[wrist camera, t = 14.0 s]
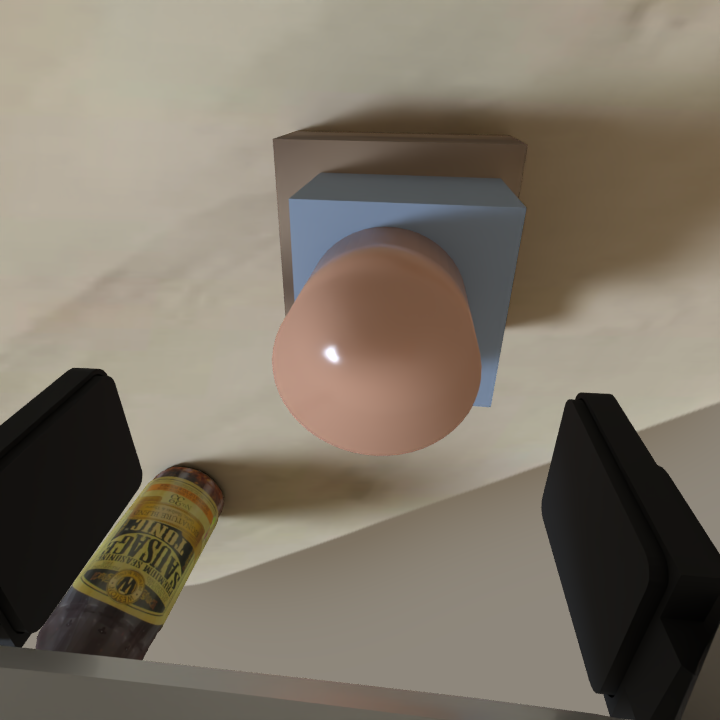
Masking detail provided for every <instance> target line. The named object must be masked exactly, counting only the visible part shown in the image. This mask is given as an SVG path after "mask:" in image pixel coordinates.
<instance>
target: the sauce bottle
mask: <svg viewBox="0 0 720 720" xmlns="http://www.w3.org/2000/svg"><path fill="white" fill-rule="evenodd" d="M223 501H224V497H223V494H222V492H221V490H220V488H219V487H218V485H217V484H216V483H215V482H214V481H213V480H212V479H211V478H210V477H209V476H208V475H206V474H204V473H203V472H202V471H198V470H195V469H191V468H187V467H180V466H173V467H170V468H168V469H166V470H165V471H162V472H161V473H160V474H158V475H157V476H156V477H155V478H154V479H153V480H152V481H151V482H149V483H148V485H147V486H146V487H145V488H144V490H143V491H142V492H141V494H140V495H139V496H138V498H137V499H136V500H135V502H134V503H133V504H132V506H131V507H130V508H129V510H128V511H127V512H126V513H125V515H124V516H123V517H122V518H121V520H120V521H119V522H118V524H117V525H116V526H115V528H114V529H113V530H112V531H111V533H110V534H109V535H108V537H107V538H106V539H105V541H104V542H103V543H102V545H101V546H100V547H99V549H98V550H97V551H96V553H95V554H94V555H93V557H92V558H91V559H90V561H89V562H88V563H87V565H86V566H85V567H84V569H83V570H82V572H81V573H80V574H79V576H78V577H77V578H76V580H75V581H74V583H73V584H72V586H71V588H70V589H69V590H68V592H67V593H66V595H65V596H64V597H63V599H62V600H61V602H60V603H59V604H58V606H57V607H56V609H55V610H54V611H53V613H52V614H51V616H50V617H49V619H48V620H47V621H46V623H45V624H44V625H43V627H42V628H41V630H40V632H39V634H38V636H37V644H36V649H40V650H49V651H59V652H68V653H78V654H88V655H97V656H107V657H116V658H125V659H134V660H143V658H144V656H145V654H146V652H147V651H148V648H149V646H150V645H151V643H152V642H153V640H154V639H155V637H156V635H157V633H158V632H159V631H160V630H161V628H162V627H163V624H164V623H165V621H166V619H167V617H168V615H169V613H170V611H171V610H172V608H173V606H174V604H175V602H176V600H177V598H178V596H179V594H180V592H181V591H182V589H183V587H184V585H185V583H186V581H187V579H188V577H189V575H190V573H191V571H192V569H193V568H194V566H195V564H196V562H197V560H198V558H199V556H200V554H201V553H202V551H203V549H204V547H205V545H206V543H207V541H208V539H209V537H210V536H211V534H212V532H213V530H214V528H215V526H216V524H217V521H218V517H219V515H220V513H221V512H222V509H223V504H224V502H223Z"/></svg>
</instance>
